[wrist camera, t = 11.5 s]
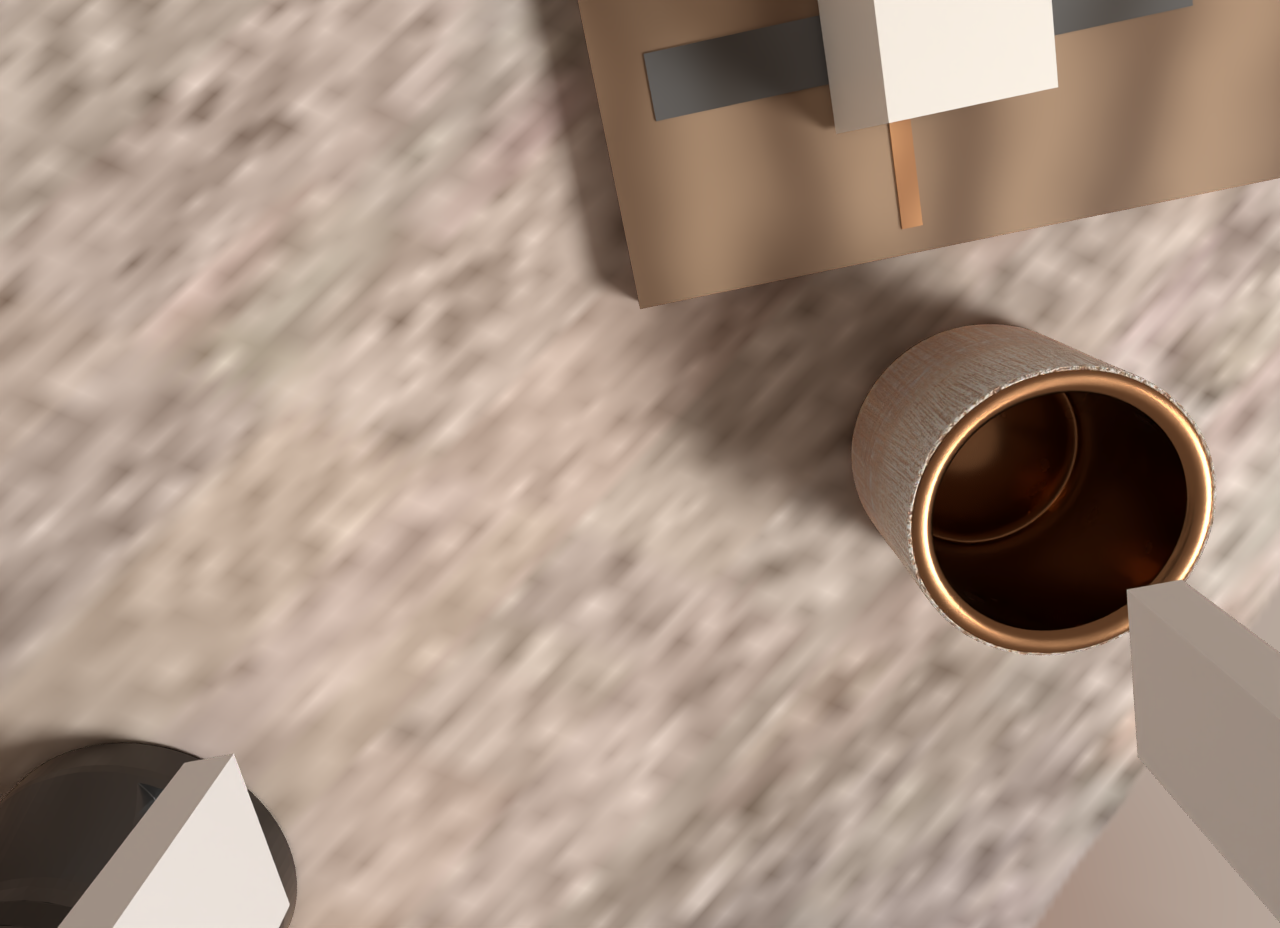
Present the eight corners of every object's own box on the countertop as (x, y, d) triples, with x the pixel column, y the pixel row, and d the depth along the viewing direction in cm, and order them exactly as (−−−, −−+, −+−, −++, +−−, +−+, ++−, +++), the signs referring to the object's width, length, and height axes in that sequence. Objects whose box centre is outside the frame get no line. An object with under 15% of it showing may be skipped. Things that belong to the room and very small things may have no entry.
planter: (837, 556, 44) (889, 656, 35) (858, 317, 41) (921, 359, 32) (1074, 561, 44) (1189, 662, 35) (1113, 323, 41) (1250, 366, 32)
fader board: (640, 302, 41) (640, 309, 39) (554, -120, 36) (549, -139, 34) (1268, 173, 39) (1305, 173, 37) (1259, -283, 35) (1301, -313, 33)
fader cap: (836, 133, 36) (888, 123, 29) (812, -40, 35) (861, -100, 27) (968, 105, 36) (1058, 87, 29) (951, -71, 35) (1040, -141, 27)
